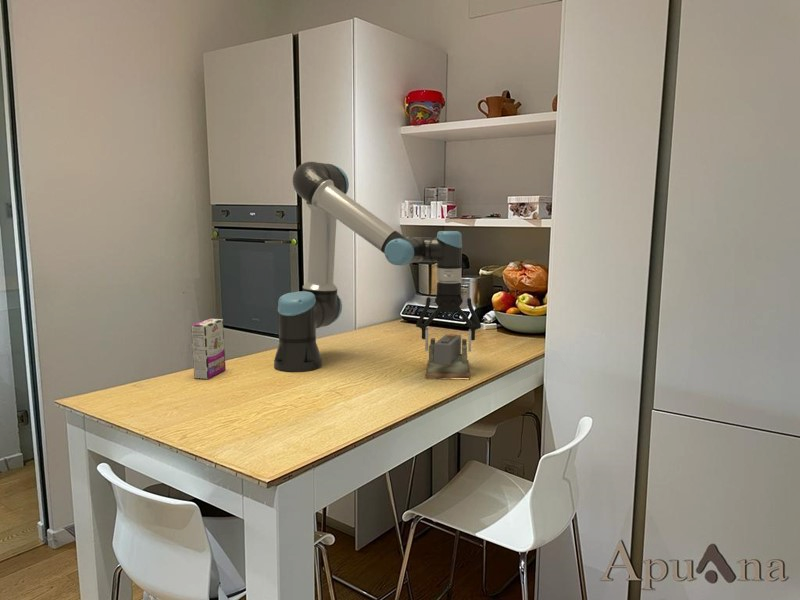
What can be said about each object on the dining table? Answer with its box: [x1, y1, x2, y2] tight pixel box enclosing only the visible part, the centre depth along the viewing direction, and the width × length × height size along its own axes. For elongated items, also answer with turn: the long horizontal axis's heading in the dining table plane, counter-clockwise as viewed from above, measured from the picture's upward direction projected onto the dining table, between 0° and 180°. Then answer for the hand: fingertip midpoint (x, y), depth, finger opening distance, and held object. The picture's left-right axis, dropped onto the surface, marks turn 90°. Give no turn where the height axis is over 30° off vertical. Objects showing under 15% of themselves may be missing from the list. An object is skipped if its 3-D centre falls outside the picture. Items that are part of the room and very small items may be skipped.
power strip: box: [434, 333, 462, 365], centre depth 192 cm, size 5×16×6 cm, turn 163°
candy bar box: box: [190, 318, 227, 380], centre depth 187 cm, size 11×5×16 cm, turn 168°
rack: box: [424, 337, 470, 379], centre depth 193 cm, size 13×20×9 cm, turn 175°
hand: (448, 350), depth 193 cm, fingers open, 13 cm apart
